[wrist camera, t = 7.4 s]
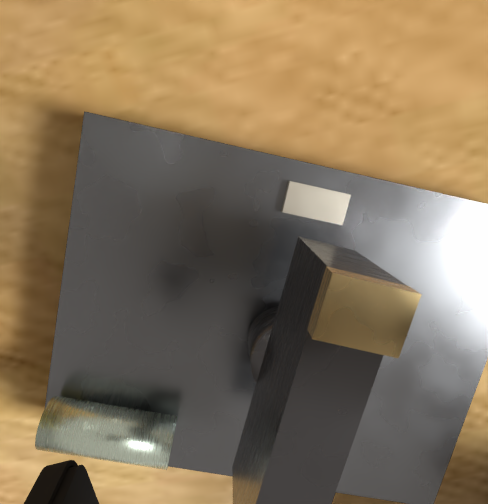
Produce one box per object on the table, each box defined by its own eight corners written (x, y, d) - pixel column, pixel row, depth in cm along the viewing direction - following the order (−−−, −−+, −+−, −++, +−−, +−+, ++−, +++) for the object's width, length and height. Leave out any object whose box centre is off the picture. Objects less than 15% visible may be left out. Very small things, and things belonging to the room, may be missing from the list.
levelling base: (62, 411, 20) (16, 482, 15) (104, 118, 17) (62, 103, 13) (408, 468, 21) (455, 546, 17) (499, 209, 19) (583, 223, 14)
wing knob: (285, 439, 18) (322, 608, 11) (222, 427, 17) (220, 592, 11) (347, 241, 16) (436, 297, 9) (278, 223, 16) (317, 269, 9)
